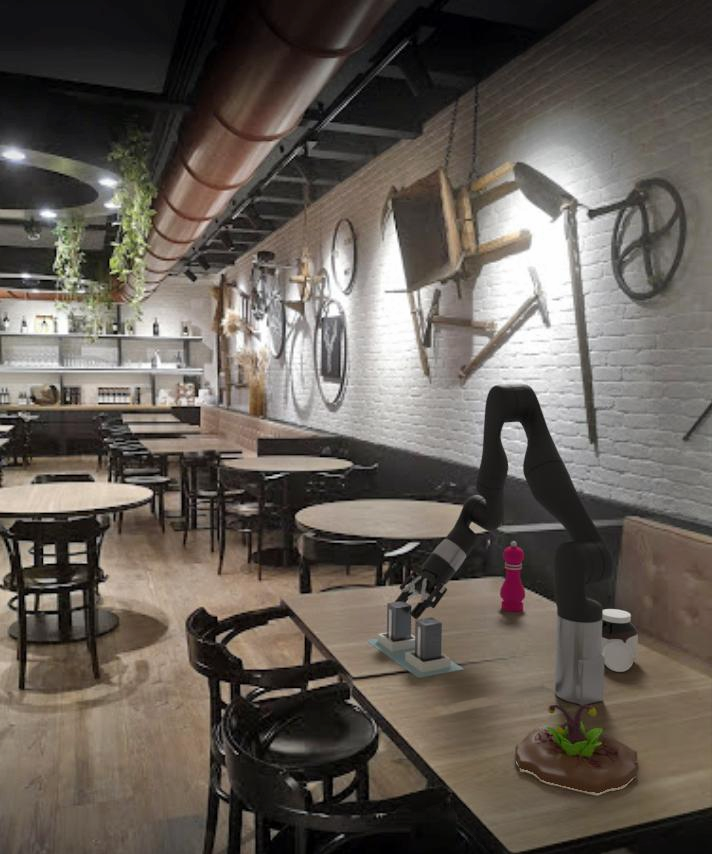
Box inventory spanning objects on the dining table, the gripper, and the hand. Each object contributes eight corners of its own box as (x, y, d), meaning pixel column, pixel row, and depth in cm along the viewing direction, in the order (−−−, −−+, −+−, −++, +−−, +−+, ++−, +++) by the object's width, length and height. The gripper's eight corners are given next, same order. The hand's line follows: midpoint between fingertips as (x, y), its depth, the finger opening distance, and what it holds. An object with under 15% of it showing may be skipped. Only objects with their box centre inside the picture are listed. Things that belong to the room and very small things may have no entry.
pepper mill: (523, 605, 225) (525, 538, 224) (526, 612, 218) (528, 544, 216) (498, 604, 226) (500, 538, 224) (500, 611, 218) (502, 543, 217)
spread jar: (619, 652, 187) (620, 606, 186) (653, 669, 177) (655, 620, 176) (580, 659, 182) (581, 611, 182) (612, 676, 172) (614, 626, 171)
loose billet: (410, 645, 186) (411, 605, 185) (394, 648, 184) (394, 608, 183) (402, 640, 190) (402, 601, 189) (385, 642, 188) (386, 603, 187)
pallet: (464, 675, 172) (464, 660, 171) (418, 684, 166) (418, 668, 166) (407, 639, 195) (407, 625, 195) (365, 646, 190) (365, 632, 189)
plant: (612, 810, 119) (615, 741, 118) (499, 770, 131) (501, 707, 130) (650, 760, 135) (652, 699, 134) (547, 728, 147) (548, 672, 146)
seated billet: (441, 665, 173) (441, 623, 173) (423, 669, 171) (424, 625, 171) (430, 659, 177) (431, 617, 177) (413, 662, 175) (414, 620, 175)
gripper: (420, 546, 196) (381, 595, 192) (451, 558, 183) (409, 610, 179) (438, 564, 199) (399, 613, 194) (469, 577, 186) (428, 629, 182)
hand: (404, 612), depth 187 cm, fingers open, 8 cm apart
